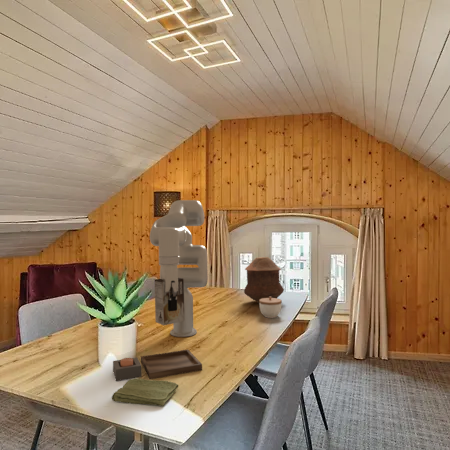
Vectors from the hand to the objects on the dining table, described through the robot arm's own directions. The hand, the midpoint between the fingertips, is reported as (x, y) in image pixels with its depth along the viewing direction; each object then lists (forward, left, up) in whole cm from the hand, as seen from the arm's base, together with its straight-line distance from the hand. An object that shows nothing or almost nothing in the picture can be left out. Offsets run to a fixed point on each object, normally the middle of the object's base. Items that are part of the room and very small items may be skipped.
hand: (169, 308), depth 139 cm
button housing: (+1, -16, -22) cm, 27 cm away
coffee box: (0, 0, -5) cm, 5 cm away
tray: (0, 0, -22) cm, 22 cm away
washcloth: (+19, -13, -22) cm, 32 cm away
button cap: (+1, -16, -20) cm, 25 cm away
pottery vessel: (-77, +82, -22) cm, 115 cm away
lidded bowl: (-47, +70, -22) cm, 87 cm away
